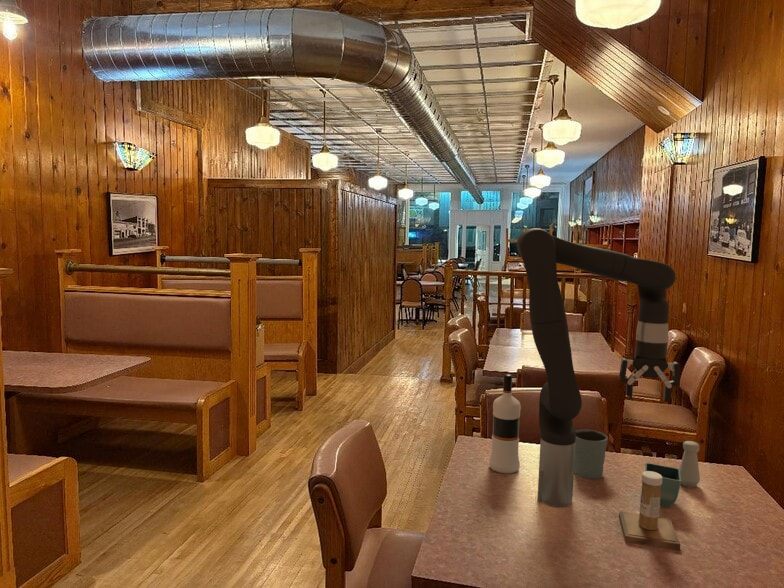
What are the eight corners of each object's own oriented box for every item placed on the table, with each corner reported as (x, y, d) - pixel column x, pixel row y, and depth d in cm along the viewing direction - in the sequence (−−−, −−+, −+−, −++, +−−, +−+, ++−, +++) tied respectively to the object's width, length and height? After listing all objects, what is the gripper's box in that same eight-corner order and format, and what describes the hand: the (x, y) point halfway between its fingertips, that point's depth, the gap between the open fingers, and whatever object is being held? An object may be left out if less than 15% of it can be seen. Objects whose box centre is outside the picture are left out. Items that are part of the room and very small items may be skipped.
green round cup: (570, 476, 168) (572, 438, 166) (570, 463, 177) (572, 427, 176) (606, 481, 165) (609, 443, 163) (604, 467, 174) (606, 431, 173)
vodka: (484, 463, 176) (487, 371, 173) (511, 460, 178) (515, 370, 175) (496, 476, 167) (500, 379, 164) (524, 473, 169) (528, 377, 166)
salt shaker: (703, 489, 160) (706, 446, 159) (683, 489, 161) (686, 446, 159) (692, 480, 166) (696, 438, 165) (673, 480, 166) (676, 438, 165)
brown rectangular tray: (624, 541, 133) (625, 535, 133) (618, 516, 144) (619, 510, 144) (679, 550, 130) (680, 543, 130) (669, 524, 141) (669, 518, 141)
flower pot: (677, 498, 155) (679, 468, 154) (678, 513, 147) (681, 480, 146) (642, 492, 158) (645, 462, 157) (642, 505, 151) (644, 474, 149)
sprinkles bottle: (634, 521, 139) (638, 470, 137) (651, 521, 139) (655, 470, 138) (644, 531, 134) (648, 478, 133) (662, 530, 135) (666, 478, 133)
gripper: (678, 338, 146) (673, 397, 148) (620, 334, 149) (616, 392, 151) (685, 343, 138) (680, 406, 140) (624, 339, 142) (620, 400, 144)
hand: (647, 399), depth 146 cm, fingers open, 8 cm apart
